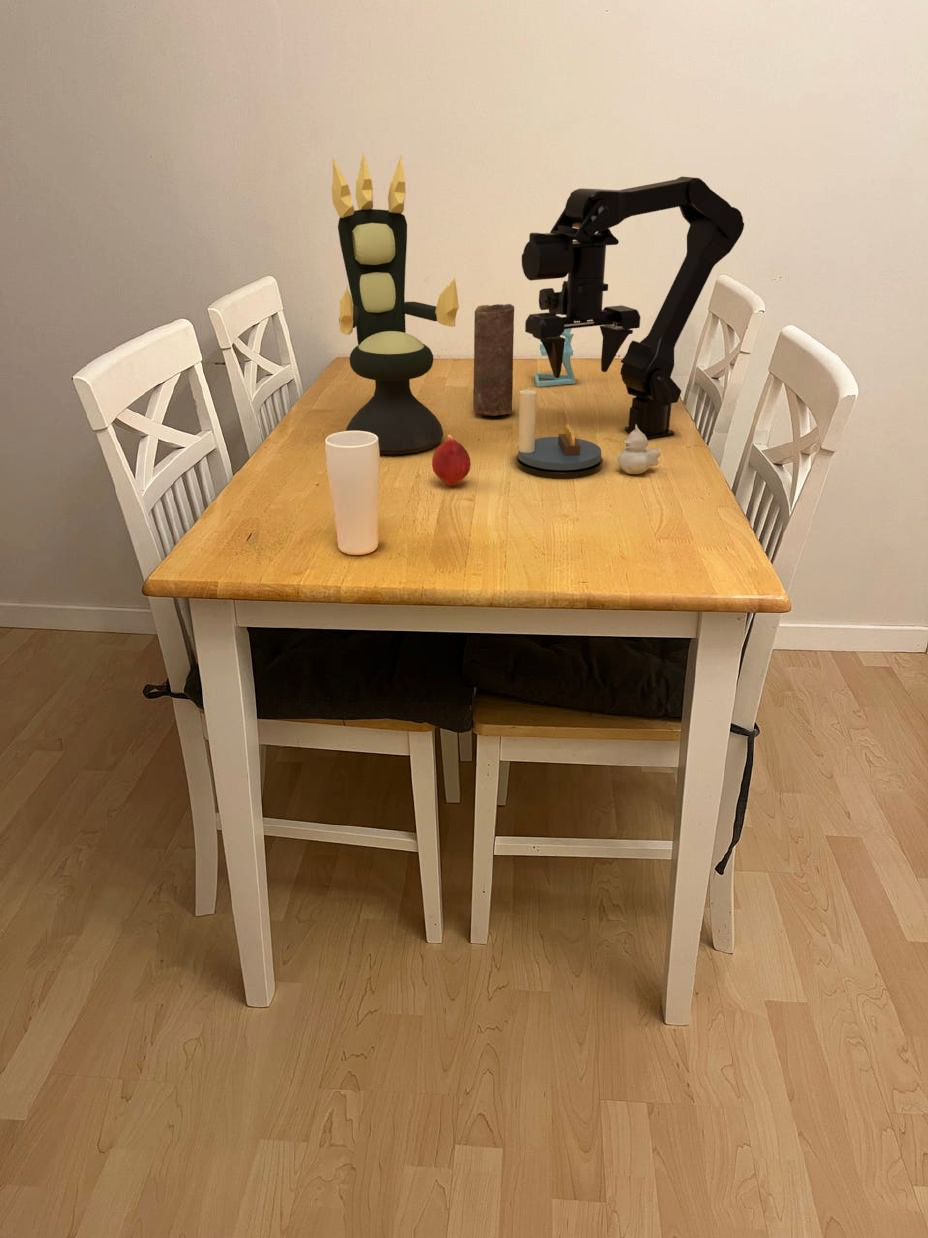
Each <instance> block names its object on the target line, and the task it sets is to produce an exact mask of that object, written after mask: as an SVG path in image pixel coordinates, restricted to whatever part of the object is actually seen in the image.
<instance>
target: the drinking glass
mask: <svg viewBox="0 0 928 1238" xmlns="http://www.w3.org/2000/svg"><path fill="white" fill-rule="evenodd" d="M324 443H325V444H324V449H325V451H324V452H325V453H324V455H325V467H326V475H327V482H328V488H329V493H330V500H331V506H332V512H333V518H334V525H335V532H336V542H337V547H338V549H339V551H340V552H341V553H343V554H346V555H349V556H364V555H368V554H371V553H373V552H374V551H376V550H377V548H378V546H379V512H380V511H379V509H380V489H381V488H380V485H381V454H380V452H379V442H378V437H377V436H376V435H375V434H373V433H370V432H365V431H346V430H344V431H339V432H335V433H331V434H330V435H328V436H327V437H326V438H325V439H324Z"/></svg>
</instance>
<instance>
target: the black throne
mask: <svg viewBox="0 0 928 1238" xmlns="http://www.w3.org/2000/svg"><path fill="white" fill-rule="evenodd" d="M372 181H373V180H372V176H371V173H370V170H369V167H368V163H367V160H366V157H365V154H364V152H362V155H361V160H360V164H359V169H358V174H357V178H356V181H355V192H354V195H355V196H354V197H355V200H356V205H357V209H355V206H354V203H353V197H352V193H351V189H350V186H349V184H348V182H347V180H346V179H345V177H344V174H343V173H342V171H341V169H340V167H339V166H338V164H337V162H336V161H335V160H334V158H332V183H331V184H332V185H331V188H330V189H331V199H332V205H333V207H334V208H335V210H336V213H337V215H338V217H339V219H338V223H337V231H338V237H339V244H340V249H341V254H342V259H343V262H344V263H343V264H344V267H345V273H346V277H347V282H348V285H346V287H345V290H344V292H343V295H342V296H341V298H340V300H339V318H338V322H339V331H340V332H341V333H342V334H343V335H345V336H348V335H349V336H350V335H351V334H352V333H353V332H354V329H356V340H357V345H356V346H355V347H354V348H353V349H352V350H351V352H350V355H349V365H350V368H351V370H352V371H353V372H354V374H355V375H357V376H358V377H361V378H364V379H367V380H372V381H374V382H375V383H374V385H375V389H374V393H373V395H372V397H371V398H370V399H369V400H368V401H367V403H365V404H364V405H363V406H362V407H360V409H358V411H357V412H355V414H354V415H353V416H352V417H351V419H350V421H349V423H348V424H347V426H346V430H345V431H365V432H370V433H373V434H375V435H376V436H377V437H378V442H379V452H380V455H387V456H389V455H406V454H416V453H419V452H423V451H428V450H429V449H431V448H433V447H435V446H436V445H437V444H438V443H439V442H440V441H441V440H442V438H443V437H444V431H443V427H442V424H441V422H440V420H439V419H438V418H437V416H436V415H435V414H434V413H433V412H432V411H431V410H430V409H429V408H428V407H427V406H426V405H425V404H423V403H422V402H421V401H420V400H419V399H417V398H416V397H415V396H414V395H413V393H412V390H411V384H410V383H411V380H413V379H417V378H419V377H420V378H421V377H422V376H424V375H426V374H428V373H429V371H430V370H431V369H432V367H433V364H434V354H433V352H432V350H431V348H430V347H429V346H428V345H426V344H424V342H423V341H421V340H420V339H418V338H417V337H416V336H414V335H412V334H410V333H406V330H407V329H406V315H408V316H412V317H415V318H419V319H423V320H428V321H432V322H438V323H439V324H440V325H443V326H446V327H452V328H453V327H456V317H457V312H458V310H459V308H460V306H459V298H458V290H457V289H458V288H457V283H456V278H453V279H452V280H451V281H450V283H449V285H446V287H445V288H444V289H443V290H442V292H441V293H440V294H439V296H438V300H437V304H436V305H431V304H428V303H424V302H418V301H406V299H405V292H406V291H405V290H406V265H407V264H406V263H407V250H408V249H407V248H408V247H407V246H408V222H407V219H406V216H405V215H404V214H403V213H404V211H405V200H406V192H407V191H406V177H405V171H404V165H403V158H402V154H399V159H398V162H397V165H396V168H395V170H394V173H393V176H392V180H391V181H390V184H389V189H388V194H387V203H388V209H379V208H378V209H377V208H374V187H373V182H372Z"/></svg>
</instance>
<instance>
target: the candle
mask: <svg viewBox="0 0 928 1238" xmlns="http://www.w3.org/2000/svg"><path fill="white" fill-rule="evenodd" d="M473 323H474V325H473V327H474V332H473V333H474V334H473V356H474V357H473V388H472V389H473V390H472V392H473V394H472V395H473V396H472V398H473V400H472V402H473V403H472V407H473V411H474V413H475V414H476V415H478V416H485V417H486V416H487V417H497V416H504V415H510V414H512V412H513V397H514V396H513V394H514V393H513V391H514V389H513V388H514V387H513V386H514V376H513V375H514V334H515V305H513V304H511V303H506V304H503V303H501V304H491V305H490V304H483V305H482V304H481V305H478V306H477V307H476V308H475V310H474V322H473Z"/></svg>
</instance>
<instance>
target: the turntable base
mask: <svg viewBox="0 0 928 1238" xmlns="http://www.w3.org/2000/svg"><path fill="white" fill-rule="evenodd" d="M603 461H604V460H603V457H602V456H601V460H600V461H599V462H598V463H597V464H595V465H593V466H591V467H587V468H583V469H577V470H549V469H542V468H537V467H533V466H530V465H527V464H525V463H523V462H522V461H521V460H520V459H519V458H518V454H516V456H515V466H516V467H517V468H518V469H519V470H520V471H521V472H524V473H526V474H528V475H531V476H535V477H539V478H543V479H544V478H545V479H554V480H557V479H558V480H560V479H561V480H568V479H578V478H584V477H588V476H592V475H594V474H597V473H598V472H600V471H601V470H602V468H603V463H604V462H603Z"/></svg>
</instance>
